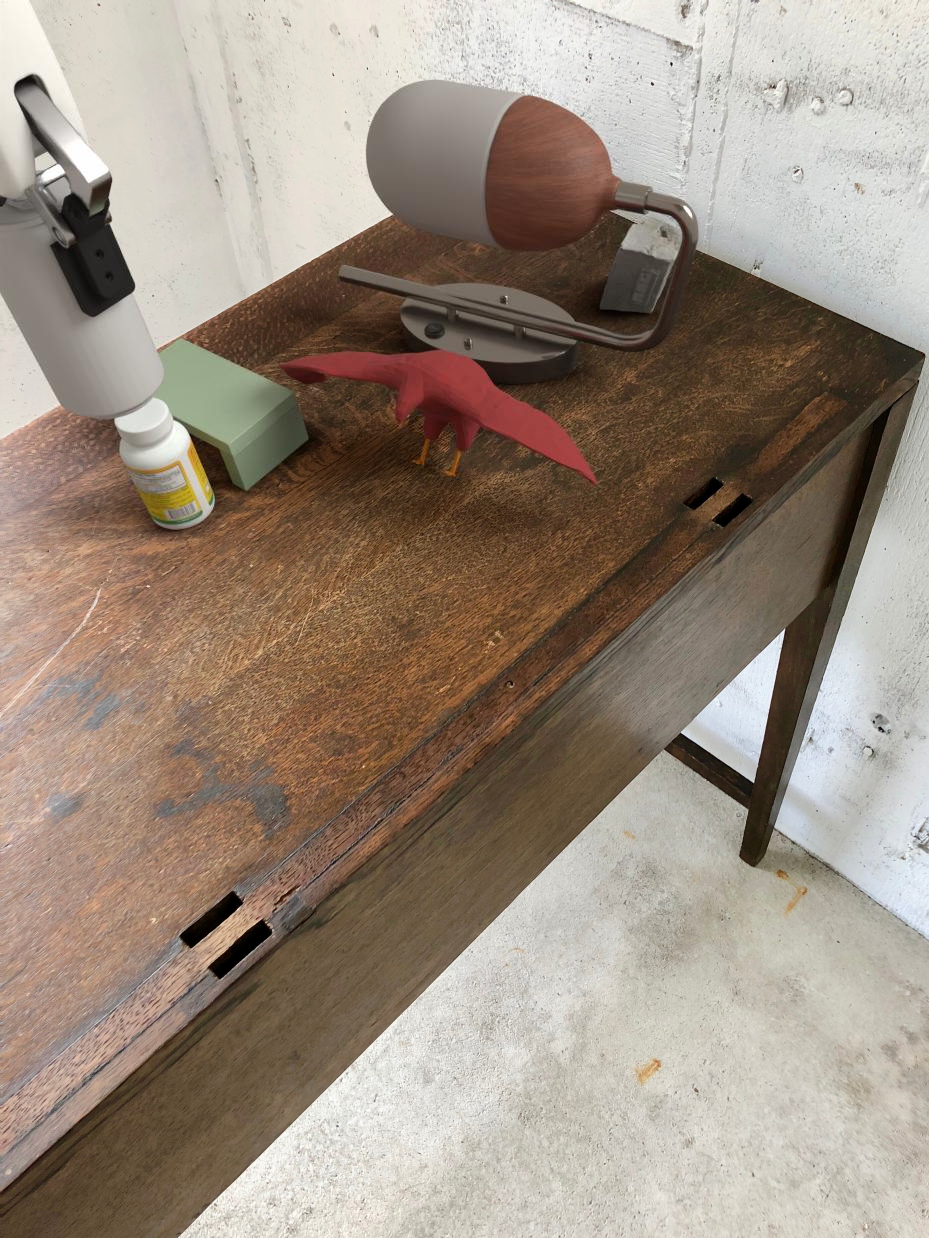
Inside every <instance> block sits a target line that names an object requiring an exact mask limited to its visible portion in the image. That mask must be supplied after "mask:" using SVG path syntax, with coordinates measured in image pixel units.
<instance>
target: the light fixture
mask: <svg viewBox="0 0 929 1238" xmlns="http://www.w3.org/2000/svg"><path fill="white" fill-rule="evenodd" d="M365 144H366V145H365V163H366V169H367V175H368V178H369V181H370V183H371V186H372V188H373V190H374V192H375V193H376V196H377V197H378V199H379V200H380V201H381V203H382V204H383V206H384V207H385V208H386V209H387V210H388V211H389V212H390V213H391V214H392V215H393V216H394V217H396V218H397V219H398V220H399V221H401V222H403V223H404V224H406V225H407V226H410V227H412V228H414V229H416V230H419V231H422V232H425V233H429V234H434V235H438V236H442V237H447V238H451V239H455V240H460V241H464V242H469V243H474V244H478V245H483V246H485V247H486V246H487V247H490V248H491V247H492V248H496V249H504V250H507V251H511V252H542V251H543V252H544V251H550V250H556V249H560V248H563V247H566V246H568V245H569V246H570V245H571V244H574V243H576V242H578V241H580V240H582V239H583V238H584V237H586V236H587V235H589V233H590V232H592V231H593V230H594V229H595V228H596V226H597V225H598V224H599V222H600V221H601V219H602V218H603V216H604V214H605V213H606V212H611V211H617V210H618V211H623V212H629V213H634V214H638V215H644V216H646V215H648V214H649V212H653V213H656V214H660V215H664V216H668V217H671V218H672V219H673V220H675V221H676V223H677V224H678V226H679V228H680V232H681V233H682V242H681V245H680V249H679V252H678V255H677V258H676V260H675V261H674V264H673V270H672V272H671V276H670V280H669V282H668V286H667V288H666V292H665V295H664V298H663V301H662V305H661V308H660V310H659V313H658V316H657V319H656V321H655V323H654V324H653V325H652V326H651V327H650V328H648V329H647V330H645V331H643V332H639V333H621V332H617V331H613V330H609V329H606V328H601V327H597V326H595V325H591V324H588V323H587V324H586V323H583V322H579V321H575V319H574V317H572V315H570V314H569V313H568V312H567V311H566V310H565V309H563V308H562V307H560V306H559V305H557V304H556V303H554V302H553V301H550V300H548V299H546V298H543V297H541V296H538V295H536V294H533V293H530V292H527V291H524V290H521V289H517V288H512V287H509V286H502V285H497V284H496V285H495V284H488V283H477V282H455V283H447V284H438V285H434V286H432V285H428V284H425V283H419V282H416V281H412V280H408V279H405V278H401V277H395V276H392V275H388V274H384V273H380V272H375V271H372V270H367V269H362V268H359V267H355V266H350V265H347V264H342V265H341V266H340V268H339V270H338V278H339V281H340V282H343V283H347V284H350V285H354V286H358V287H363V288H367V289H371V290H375V291H378V292H382V293H386V294H390V295H394V296H397V297H402V298H406V299H405V301H403V303H402V305H401V307H400V312H399V313H400V314H399V316H400V321H401V325H402V326H401V327H402V333H403V337H404V342H405V343H406V345H407V347H408V348H409V350H410V351H412V353H421V352H427V351H433V350H446V351H451V352H455V353H457V354H460V355H462V356H468V357H470V358H471V359H472V360H474V361H475V362H476V363H477V364H478V365H479V366H481V367H482V368H483V369H484V370H485V372H486V373H487V375H488V376H489V378H490V379H491V381H492V382H493V384H502V385H525V384H526V385H527V384H535V383H542V382H543V383H544V382H546V381H551V380H554V379H556V378H559V377H561V376H563V375H566V374H567V373H569V372H570V371H571V370H573V368H574V367H575V366H576V365H577V363H578V362H579V358H580V343H585V344H590V345H594V346H597V347H602V348H606V349H610V350H615V351H620V352H623V353H624V352H625V353H641V352H646V351H650V350H651V349H654V348H656V347H657V346H659V345H660V344H661V343H663V341H664V340H665V339H666V338H667V337H668V335H669V334H670V332H671V331H672V329H673V327H674V324H675V321H676V319H677V315H678V311H679V308H680V306H681V302H682V299H683V295H684V291H685V290H686V289H685V288H686V285H687V282H688V278H689V276H690V271H691V268H692V266H693V261H694V258H695V254H696V250H697V246H698V242H699V237H700V236H699V235H700V234H699V233H700V232H699V231H700V230H699V221H698V217H697V215H696V213H695V211H694V209H693V208H692V206H690V204H689V203H687V202H686V201H685V200H683V199H681V198H679V197H675V196H672V195H668V194H665V193H661V192H660V193H659V192H656V191H654V188H653V186H651V185H645V184H641V183H635V182H630V181H624V180H623V179H622V178H621V177H618V176H617V175H615V174H614V173H613V168H612V161H611V158H610V154H609V151H608V149H607V147H606V145H605V143H604V142H603V140H602V138H601V137H600V136H599V134H598V133H597V132H596V131H595V130H594V129H593V128H592V127H591V126H590V125H589V123H587V122H586V121H585V120H584V119H582V118H581V117H580V116H578V115H577V114H576V113H574V112H572V111H571V110H569V109H568V108H565V107H563V106H561V105H560V104H557V103H556V102H553V101H550V100H548V99H545V98H542V97H539V96H535V95H530V94H525V93H522V92H516V91H512V90H511V91H510V90H504V89H498V88H493V87H486V86H480V85H475V84H470V83H469V84H468V83H463V82H457V81H451V80H445V79H424V80H418V81H414V82H412V83H408V84H406V85H404V86H402V87H400V88H398V89H397V90H395V91H394V92H393V93H391V94H390V95H389V96H388V97H387V98H386V99H385V100H384V101H383V102H382V103H381V104H380V106H378V109H377V110H376V112H375V113H374V115H373V118H372V120H371V123H370V125H369V127H368V131H367V137H366V143H365Z"/></svg>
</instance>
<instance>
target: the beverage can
mask: <svg viewBox="0 0 929 1238" xmlns="http://www.w3.org/2000/svg"><path fill="white" fill-rule="evenodd" d="M43 170H44V169H40V170H39V169H38V170H36V174H38V173H40V172H42V171H43ZM45 190H46V191H47V193H48V194H49V196H50V197H51V199H52V200H53V202H54V203H55V205H56V206H57V208H58V209H59V211H60V212H61V210H62V205H63V201H64V198H65V197H66V196H67V195H69V194H70V192H71V189H70V188H69V183H68V182H67V180H66V178H65V177H63V178H61V179H59V180H58V181H56V182H54V183H52V184H50V185H49V186H47V187H45ZM1 205H2V207H1ZM56 241H57V240H56V239H55V238H54V236H53V235H52V233H51V232H50V230H49V229H48V227H47V226H46V224H45V223H44V222H43V220H42V219H41V217H40V216H39V214H38V213H37V211H36V210H35V208H34V207H33V205H32V204H31V202H30V201H29V199H28V198H27V196H26V195H25V193H24V195H23V196H21V197H19V198H17V199H11V198H6V197H3V196H0V296H1V298H2V299H3V302H4V303H5V305H6V307H7V308H8V311H9V312H10V314H11V316H12V318H13V320H14V322H15V323H16V325H17V326H18V329H19V331H20V333H21V334H22V337H23V338H24V340H25V342H26V344H27V346H28V347H29V350H30V351H31V353H32V355H33V356H34V359H35V361H36V362H37V364H38V366H39V368H40V370H41V371H42V373H43V375H44V378H45V379H46V381H47V382H48V384H49V387H50V388H51V390H52V392H53V394H54V396H55V398H56V400H57V401H58V403H59V404H60V406H61V407H62V408H63V409H64V410H65V411H67V412H69V413H71V414H72V415H73V414H74V415H76V416H79V417H86V418H91V419H96V420H113V419H115V418H118V417H122V416H126V415H129V414H131V413H133V412H136V411H137V410H139V409H141V408H142V407H144V406H145V405H146V404H148V403H149V402H150V401H151V399H152V398H153V397H154V395H155V393H156V391H157V390H158V388H159V387H160V385H161V383H162V381H163V378H164V367H163V364H162V362H161V359H160V357H159V355H158V354H159V352H158V349H157V348H156V346H155V343H154V340H153V338H152V336H151V333H150V331H149V329H148V326H147V324H146V320H145V319H144V315H143V314H142V312H141V309H140V307H139V305H138V302H137V299H136V297H135V295H134V292H133V293H131V294H130V295H128V296H127V297H125V298H124V299H122V300H121V301H119V302H117V303H116V304H114V305H113V306H111V307H110V308H108V309H107V310H105V311H104V312H102V313H101V314H99V315H97V316H96V317H90V316H88V315H86V314H84V313H83V312H82V311H81V309H80V307H79V304H78V302H77V300H76V298H75V296H74V294H73V292H72V290H71V288H70V286H69V284H68V282H67V280H66V278H65V276H64V274H63V272H62V270H61V268H60V266H59V264H58V261H57V259H56V257H55V255H54V253H53V251H52V249H51V247H50V245H51V244H53V243H55V242H56Z"/></svg>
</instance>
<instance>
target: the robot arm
mask: <svg viewBox="0 0 929 1238" xmlns="http://www.w3.org/2000/svg"><path fill="white" fill-rule="evenodd" d="M46 153H48V154H49V155H50V157H51V158H52V159H53V160H54V161H55V163H54V164H52V165H50V166H49V167H47V168H46V169H42V170H43V171H42V172H40V173H38V174H36V171H37V167H36V158H38V157H40V156H42V155H44V154H46ZM63 177H65V178H66V180H67V182H68V183H69V188H70V189H71V192H70V194H69V195H67V196H66V197H65V198H64V201H63V205H62V210H61V212H60V211H59V209H58V208H57V206H56V205H55V203H54V202H53V200H52V199H51V197H50V196H49V194H48V193H47V191H46V190H45V187H47V186H49V185H50V184H52V183H54V182H56V181H58V180H59V179H61V178H63ZM112 185H113V175H112V173H111V171H110V169H109V168H108V167H107V165H106V163H104V162H103V161H102V159H101V158H100V157H99V156H98V154H97V153H96V152H95V151H94V150H93V149H92V147H91V146H90V142H89V138H88V135H87V132H86V128H85V125H84V123H83V120H82V116H81V114H80V112H79V109H78V106H77V104H76V101H75V99H74V96H73V94H72V91H71V89H70V87H69V85H68V82H67V79H66V77H65V75H64V73H63V70H62V68H61V65H60V63H59V61H58V59H57V57H56V55H55V52H54V50H53V48H52V45H51V43H50V42H49V39H48V37H47V35H46V33H45V30H44V28H43V26H42V24H41V22H40V19H39V18H38V15H37V13H36V12H35V10H34V7H33V5H32V3H31V1H30V0H0V196H3V197H6V198H11V199H17V198H19V197H21V196H23V195H24V193H25V195H26V196H27V198H28V199H29V201H30V202H31V204H32V205H33V207H34V208H35V210H36V211H37V213H38V214H39V216H40V217H41V219H42V220H43V222H44V223H45V224H46V226H47V227H48V229H49V230H50V232H51V233H52V235H53V236H54V238H55V239H56V240H57V241H56V242H55V243H53V244H51V245H50V247H51V249H52V251H53V253H54V255H55V257H56V259H57V261H58V264H59V266H60V268H61V270H62V272H63V274H64V276H65V278H66V280H67V282H68V284H69V286H70V288H71V290H72V292H73V294H74V296H75V298H76V300H77V302H78V304H79V307H80V309H81V311H82V312H83V313H84V314H86V315H88V316H90V317H96V316H97V315H99V314H101V313H102V312H104V311H105V310H107V309H108V308H110V307H111V306H113V305H114V304H116V303H117V302H119V301H121V300H122V299H124V298H125V297H127V296H128V295H130V294H131V293H133V294H134V292H135V290H136V282H135V279H134V278H133V275H132V273H131V270H130V268H129V266H128V263H127V261H126V259H125V257H124V254H123V252H122V249H121V246H120V245H119V243H118V240H117V238H116V236H115V233H114V231H113V228H112V226H111V223H112V222H113V217H112V214H111V211H110V210H109V209H110V206H111V200H110V194H111V188H112ZM1 207H2V205H1Z"/></svg>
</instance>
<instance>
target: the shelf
mask: <svg viewBox="0 0 929 1238" xmlns="http://www.w3.org/2000/svg"><path fill="white" fill-rule="evenodd" d="M158 355H159V357H160V359H161V362H162V364H163V367H164V378H163V381H162V383H161V385H160V387H159V388H158V390H157V391H156V393H155V395H154V397H153V398H156V399H159V400H162V401H163V402H164V403H165V404H166V405H167V407H168V409H169V411H170V413H171V415H172V417H173V420H175V421H177V422H179V423H180V424H181V425H183V426H184V427H185V428H186V430H187V431H188V433H189V435H191V436H194V437H196V438H198V439H199V440H202V441H203V442H205V443H207V444H209V445H211V446H213V447H215V448H216V449H219V453H220V455H221V457H222V460H223V462H224V464H225V468H226V471H227V472H228V474H229V477H230V480H231V482H232V484H233V485H234V486H236V487H238V488H240V489H242V490H244V491H245V492H247V491H248V490H250V489H251V488H252V487H253V486H254V485H256V484H257V483H258V482H260V481H261V479H263V478H264V477H265V476H266V475H268V474H269V473H270V472H271V471H272V470H273V469H275V468H276V467H277V466H278V465H279V464H281V463H282V462H283V461H285V460H286V458H288V457H289V456H290V455H291V454H292V453H294V452H295V451H296V450H298V449H299V448H300V447H301V446H302V445H303V444H304V443H306V442H307V441H308V440H309V439H310V438H309V435H308V432H307V428H306V425H305V422H304V418H303V415H302V411H301V407H300V405H299V402H298V399H297V396H296V392H295V391H294V390H292V389H290V388H287V387H285V386H284V385H281V384H279V383H278V382H277V383H276V382H275V381H273V380H271V379H269V378H266V377H265V376H262V375H260V374H258V373H256V372H254V371H252V370H249V369H247V368H246V367H243V366H241V365H239V364H237V363H235V362H232V361H230V360H228V359H226V358H224V357H222V356H220V355H218V354H216V353H213V352H211V351H209V350H208V349H205V348H203V347H201V346H199V345H196V344H194V343H192V342H191V341H188V340H186V339H184V338H182V337H180V338H178V339H177V340H175V341H174V342H172V343H171V344H170V345H168V346H166V347H165V348H164V349H163V350H161V351H160V352H158Z"/></svg>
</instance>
